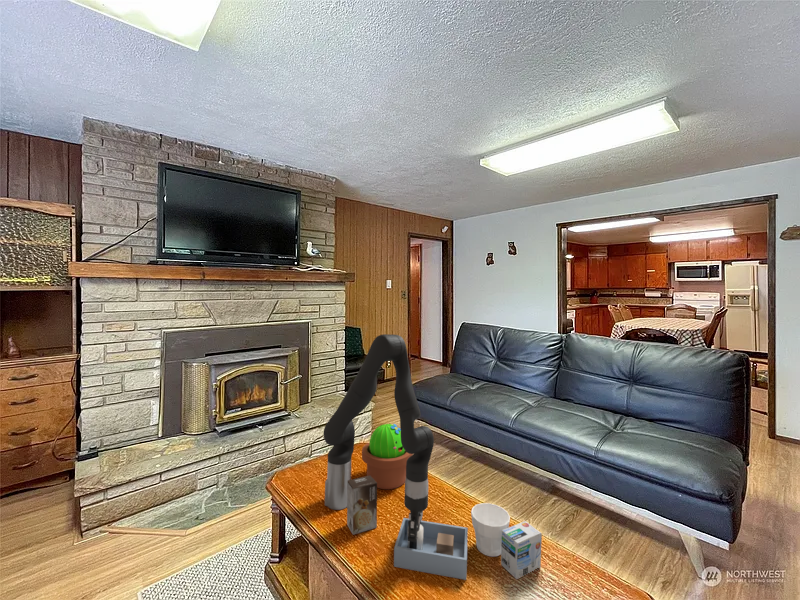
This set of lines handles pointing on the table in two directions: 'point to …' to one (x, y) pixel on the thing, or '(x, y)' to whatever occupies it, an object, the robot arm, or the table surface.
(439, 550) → the cube
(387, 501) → the table surface
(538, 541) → the light bulb box
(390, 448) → the potted cactus
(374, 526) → the coffee box
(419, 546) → the white rounded cylinder
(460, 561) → the tote
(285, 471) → the table surface
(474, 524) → the cup
